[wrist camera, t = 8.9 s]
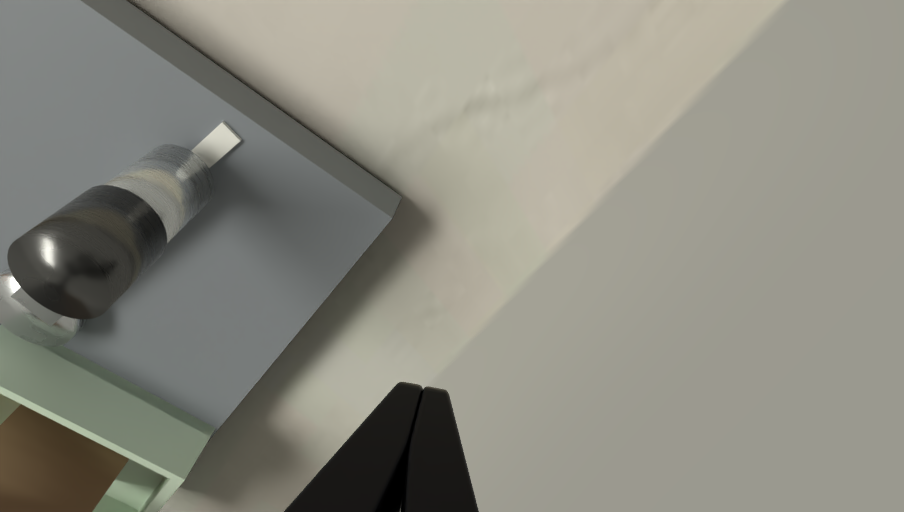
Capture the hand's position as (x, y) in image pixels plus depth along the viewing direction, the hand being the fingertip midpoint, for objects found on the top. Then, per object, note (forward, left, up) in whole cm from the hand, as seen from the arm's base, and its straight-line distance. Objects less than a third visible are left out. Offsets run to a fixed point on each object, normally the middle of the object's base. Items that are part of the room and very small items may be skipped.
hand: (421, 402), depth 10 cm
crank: (-8, +7, -6) cm, 12 cm away
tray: (-17, +5, -6) cm, 19 cm away
